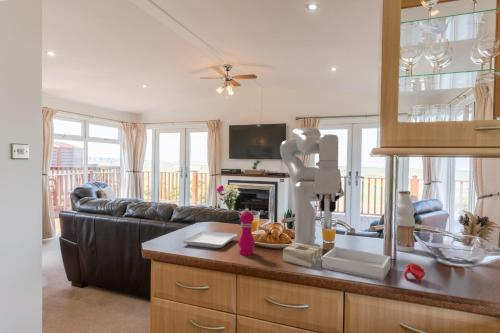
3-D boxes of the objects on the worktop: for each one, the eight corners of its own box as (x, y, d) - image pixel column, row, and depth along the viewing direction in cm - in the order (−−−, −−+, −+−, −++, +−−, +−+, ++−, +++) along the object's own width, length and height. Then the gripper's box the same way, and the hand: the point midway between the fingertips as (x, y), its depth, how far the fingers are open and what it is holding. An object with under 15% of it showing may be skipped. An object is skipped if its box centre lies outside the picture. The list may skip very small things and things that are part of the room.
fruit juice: (396, 251, 141) (398, 191, 140) (389, 246, 150) (390, 189, 150) (417, 252, 140) (419, 192, 140) (409, 247, 149) (410, 190, 149)
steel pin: (324, 227, 125) (324, 190, 125) (335, 228, 122) (335, 190, 122) (319, 228, 121) (319, 190, 121) (331, 230, 118) (331, 191, 118)
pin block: (295, 254, 135) (295, 242, 134) (321, 259, 128) (321, 247, 128) (282, 261, 124) (283, 249, 124) (310, 267, 118) (310, 254, 118)
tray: (334, 257, 131) (335, 246, 131) (390, 267, 119) (390, 256, 119) (322, 267, 117) (322, 256, 117) (383, 280, 105) (383, 267, 105)
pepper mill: (252, 256, 130) (253, 210, 130) (236, 255, 132) (237, 209, 131) (255, 251, 137) (256, 207, 137) (240, 250, 139) (241, 206, 138)
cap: (423, 277, 101) (429, 265, 104) (405, 267, 104) (411, 256, 107) (417, 290, 105) (423, 277, 109) (400, 280, 109) (406, 269, 112)
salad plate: (181, 247, 144) (181, 239, 144) (201, 236, 164) (201, 230, 164) (222, 251, 137) (222, 244, 137) (238, 240, 158) (238, 233, 158)
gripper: (305, 165, 124) (305, 210, 123) (345, 165, 114) (345, 214, 114) (313, 165, 130) (312, 208, 130) (351, 165, 120) (351, 212, 120)
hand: (327, 210), depth 122 cm, fingers closed on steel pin, 3 cm apart
